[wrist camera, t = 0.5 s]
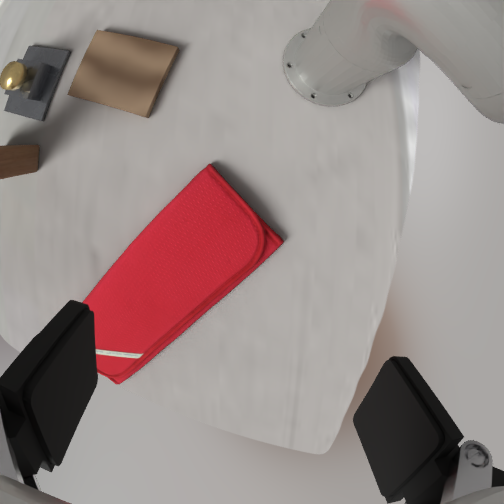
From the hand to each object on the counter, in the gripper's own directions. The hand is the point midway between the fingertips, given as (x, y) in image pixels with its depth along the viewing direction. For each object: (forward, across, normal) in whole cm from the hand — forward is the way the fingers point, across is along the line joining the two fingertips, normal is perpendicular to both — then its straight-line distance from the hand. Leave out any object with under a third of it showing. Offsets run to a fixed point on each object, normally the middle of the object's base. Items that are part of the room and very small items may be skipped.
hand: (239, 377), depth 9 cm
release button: (+30, +37, -14) cm, 50 cm away
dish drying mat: (+37, +10, +17) cm, 41 cm away
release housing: (+36, +37, -14) cm, 53 cm away
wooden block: (+36, +37, -1) cm, 52 cm away
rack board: (+36, +21, -16) cm, 44 cm away
